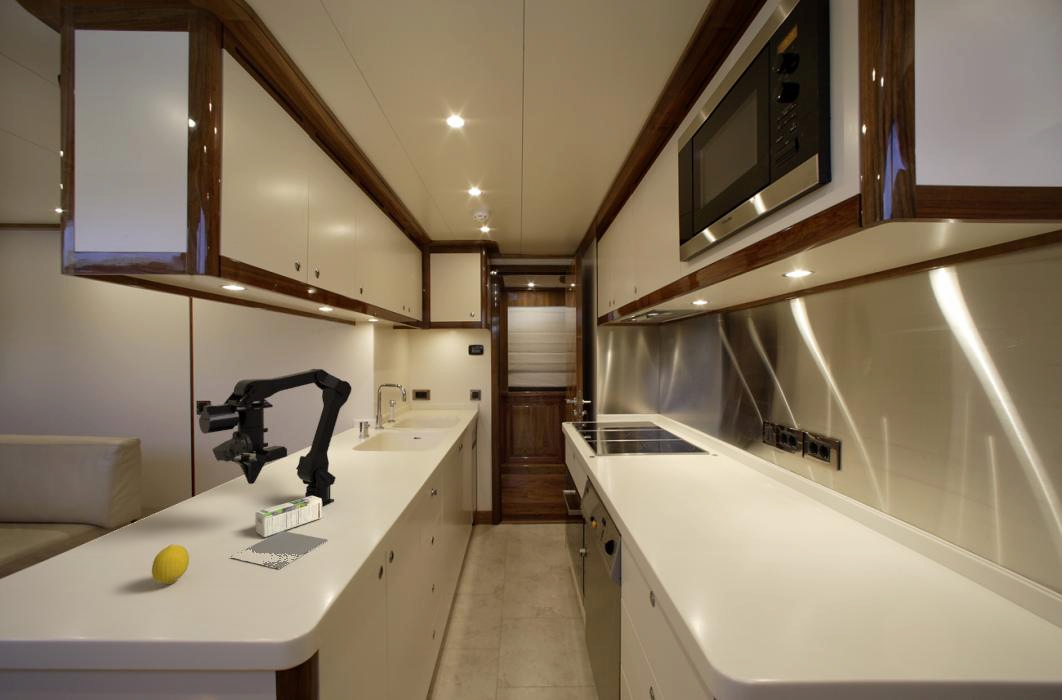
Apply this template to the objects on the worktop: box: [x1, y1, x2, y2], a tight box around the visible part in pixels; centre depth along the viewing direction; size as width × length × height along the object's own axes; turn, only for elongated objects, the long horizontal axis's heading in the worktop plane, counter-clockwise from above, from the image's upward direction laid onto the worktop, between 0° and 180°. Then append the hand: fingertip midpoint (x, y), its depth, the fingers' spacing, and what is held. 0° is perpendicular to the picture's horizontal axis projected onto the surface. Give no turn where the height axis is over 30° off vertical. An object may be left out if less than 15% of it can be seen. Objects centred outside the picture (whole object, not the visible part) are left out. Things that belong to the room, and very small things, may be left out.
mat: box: [230, 530, 328, 569], centre depth 90 cm, size 13×15×1 cm
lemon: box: [151, 544, 190, 585], centre depth 77 cm, size 6×6×8 cm
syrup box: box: [255, 496, 323, 538], centre depth 103 cm, size 6×6×14 cm
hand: (251, 483), depth 101 cm, fingers closed
